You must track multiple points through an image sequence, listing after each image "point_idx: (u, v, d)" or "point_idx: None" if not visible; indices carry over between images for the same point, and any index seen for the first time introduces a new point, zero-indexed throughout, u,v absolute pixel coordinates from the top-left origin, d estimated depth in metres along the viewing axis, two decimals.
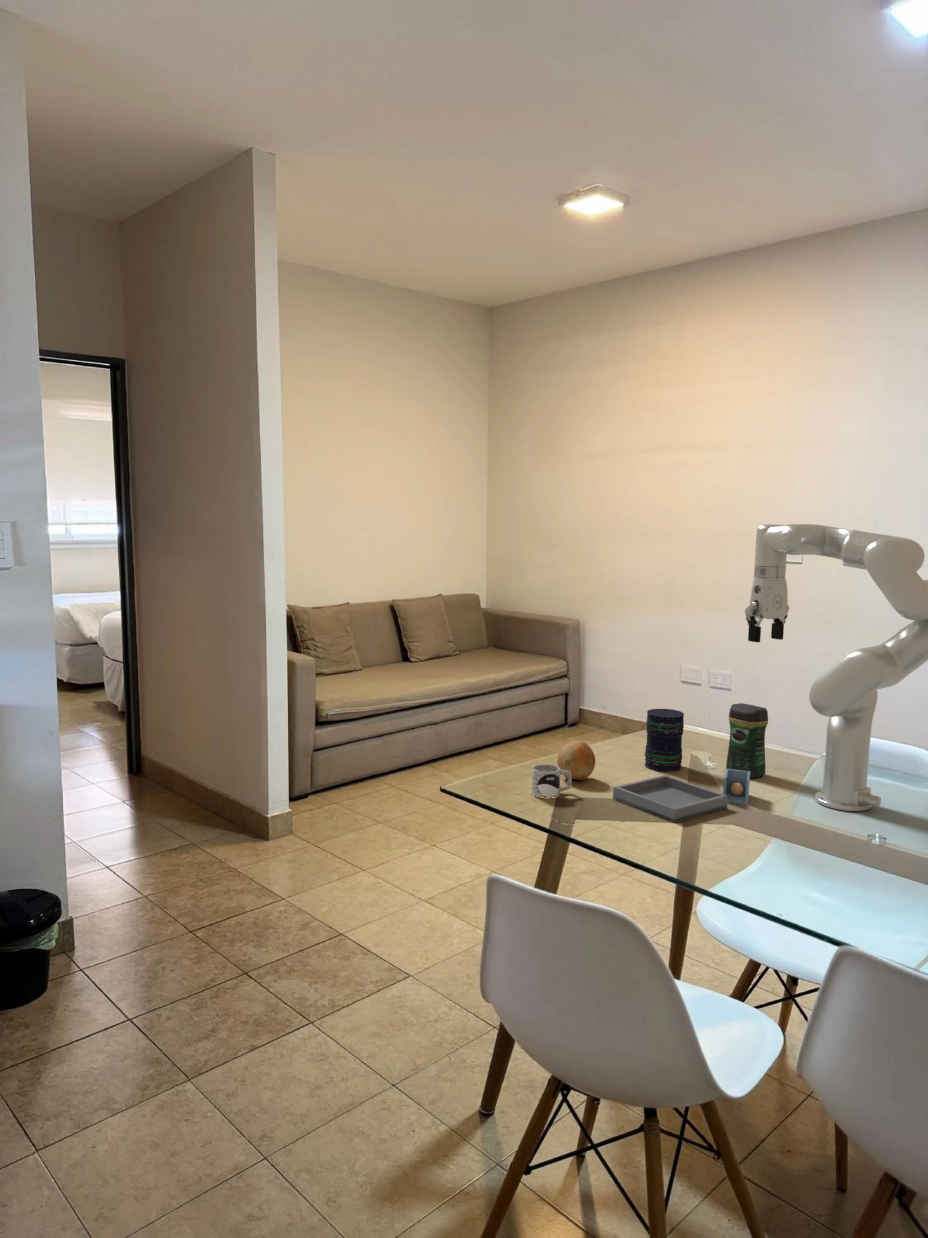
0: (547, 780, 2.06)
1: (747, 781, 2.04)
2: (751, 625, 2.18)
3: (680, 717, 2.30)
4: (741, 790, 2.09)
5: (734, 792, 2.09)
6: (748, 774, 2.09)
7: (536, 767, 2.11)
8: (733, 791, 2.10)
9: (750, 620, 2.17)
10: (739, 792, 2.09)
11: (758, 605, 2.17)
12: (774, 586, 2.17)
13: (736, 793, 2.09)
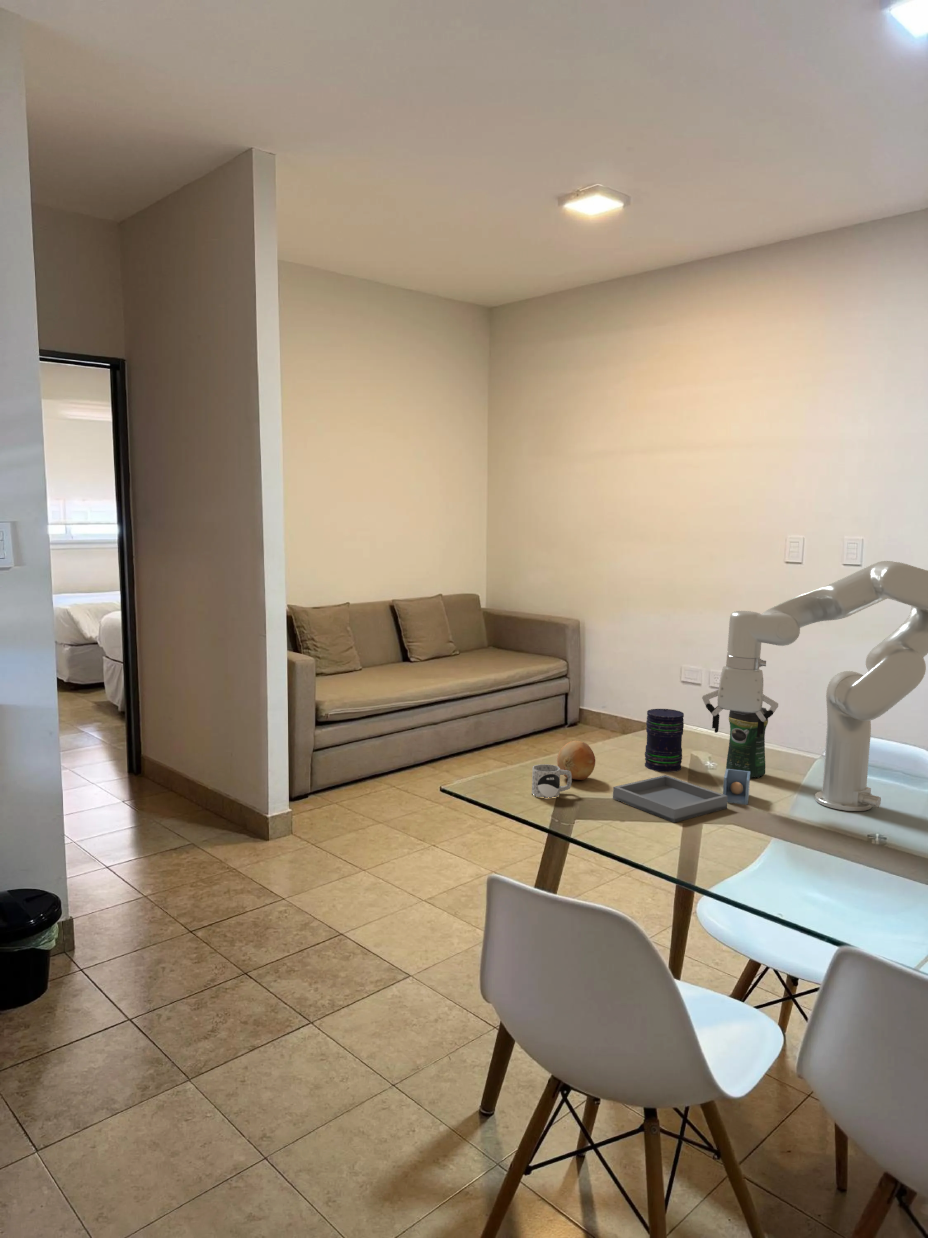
0: (547, 780, 2.06)
1: (747, 781, 2.04)
2: None
3: (680, 717, 2.30)
4: (741, 787, 2.10)
5: (734, 789, 2.10)
6: (748, 774, 2.09)
7: (536, 767, 2.11)
8: (733, 788, 2.10)
9: None
10: (739, 789, 2.10)
11: None
12: None
13: (736, 790, 2.10)
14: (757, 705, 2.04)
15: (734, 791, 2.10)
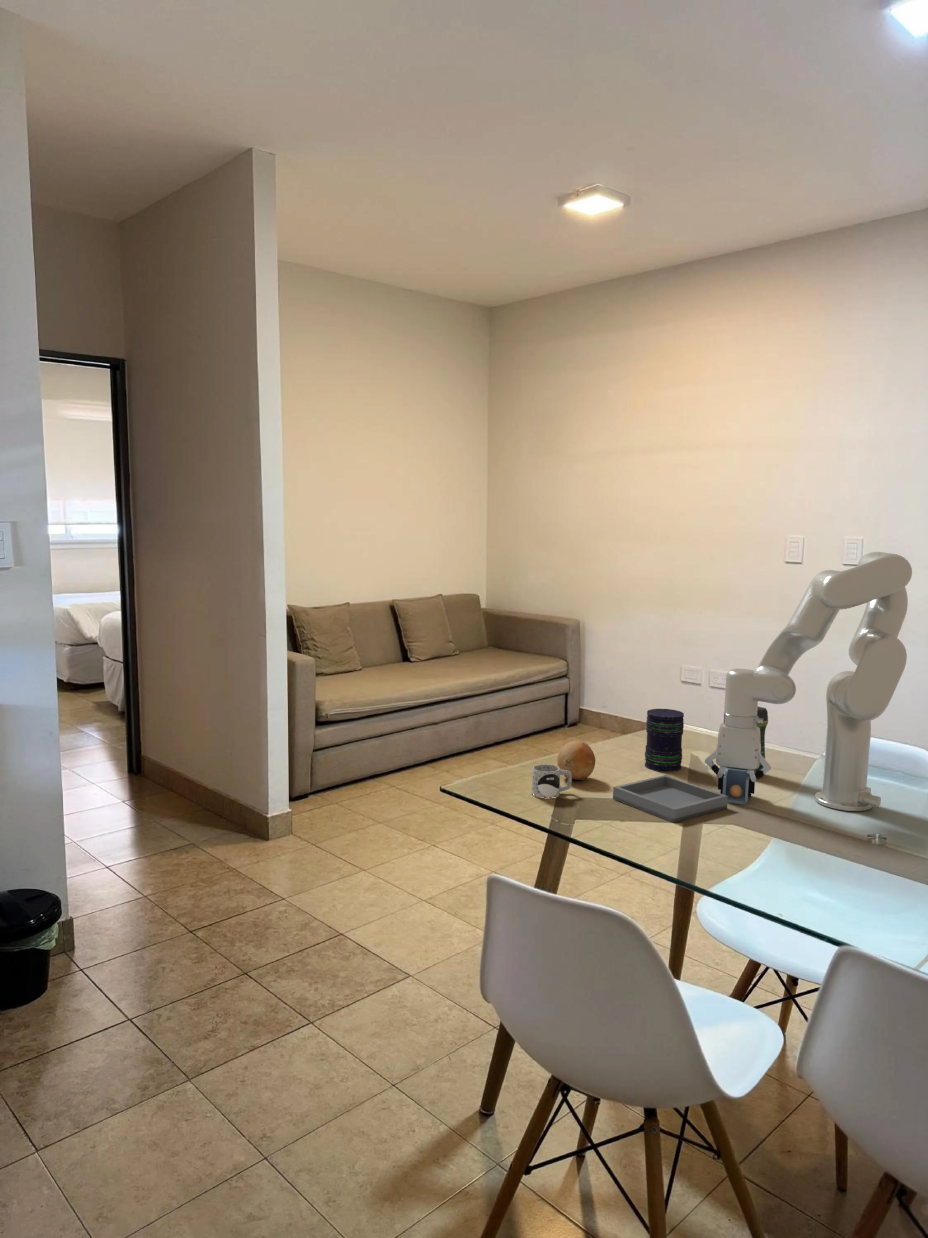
0: (547, 780, 2.06)
1: (747, 780, 2.05)
2: None
3: (680, 717, 2.30)
4: (740, 795, 2.08)
5: None
6: (748, 773, 2.09)
7: (536, 767, 2.11)
8: None
9: None
10: None
11: None
12: None
13: None
14: (755, 763, 2.05)
15: None
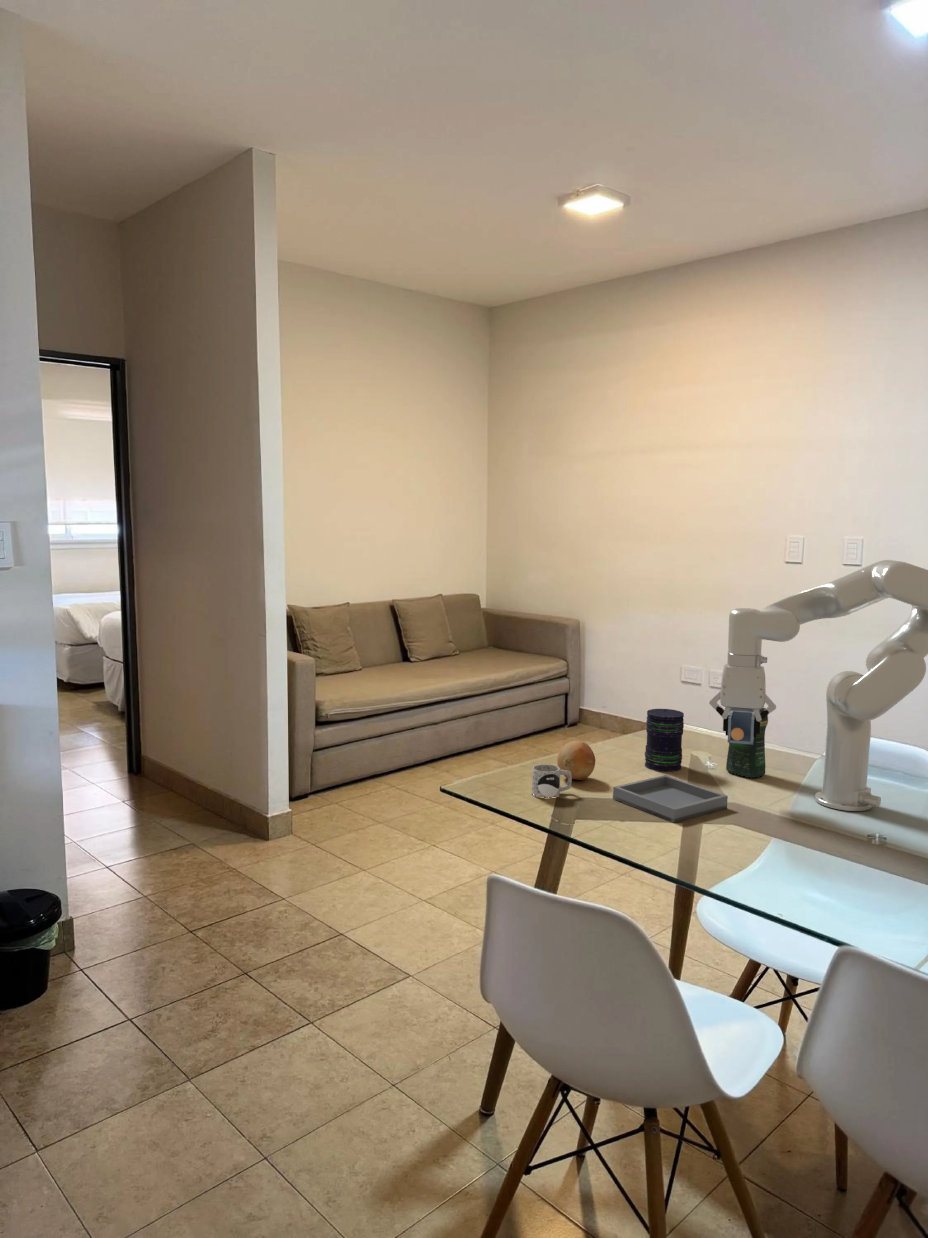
0: (547, 780, 2.06)
1: (752, 719, 2.03)
2: None
3: (680, 717, 2.30)
4: None
5: None
6: (753, 714, 2.08)
7: (536, 767, 2.11)
8: None
9: None
10: None
11: None
12: None
13: None
14: (760, 702, 2.04)
15: None
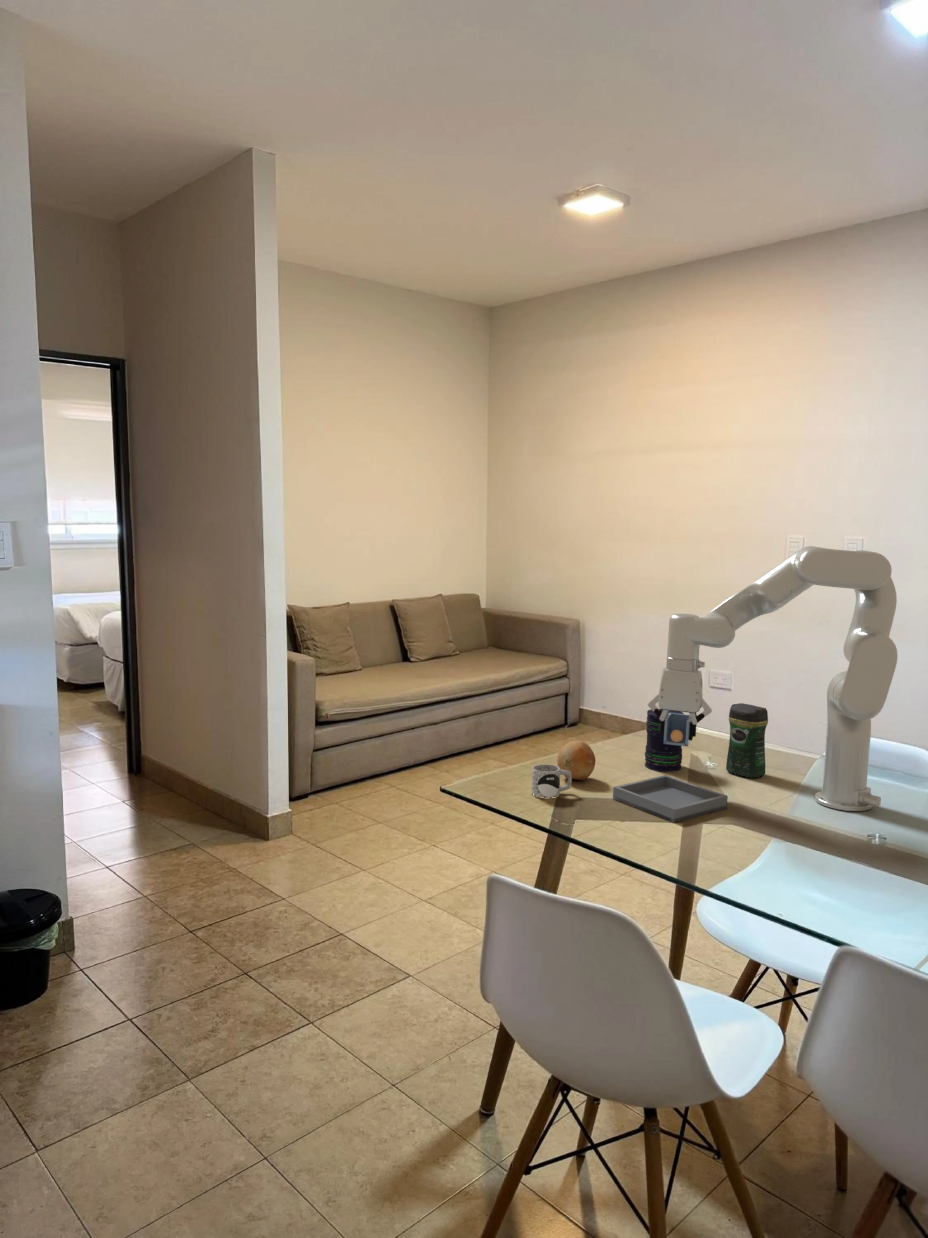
0: (547, 780, 2.06)
1: (687, 722, 2.08)
2: None
3: None
4: None
5: None
6: (690, 717, 2.13)
7: (536, 767, 2.11)
8: None
9: (702, 717, 2.11)
10: None
11: None
12: None
13: None
14: (696, 705, 2.09)
15: None
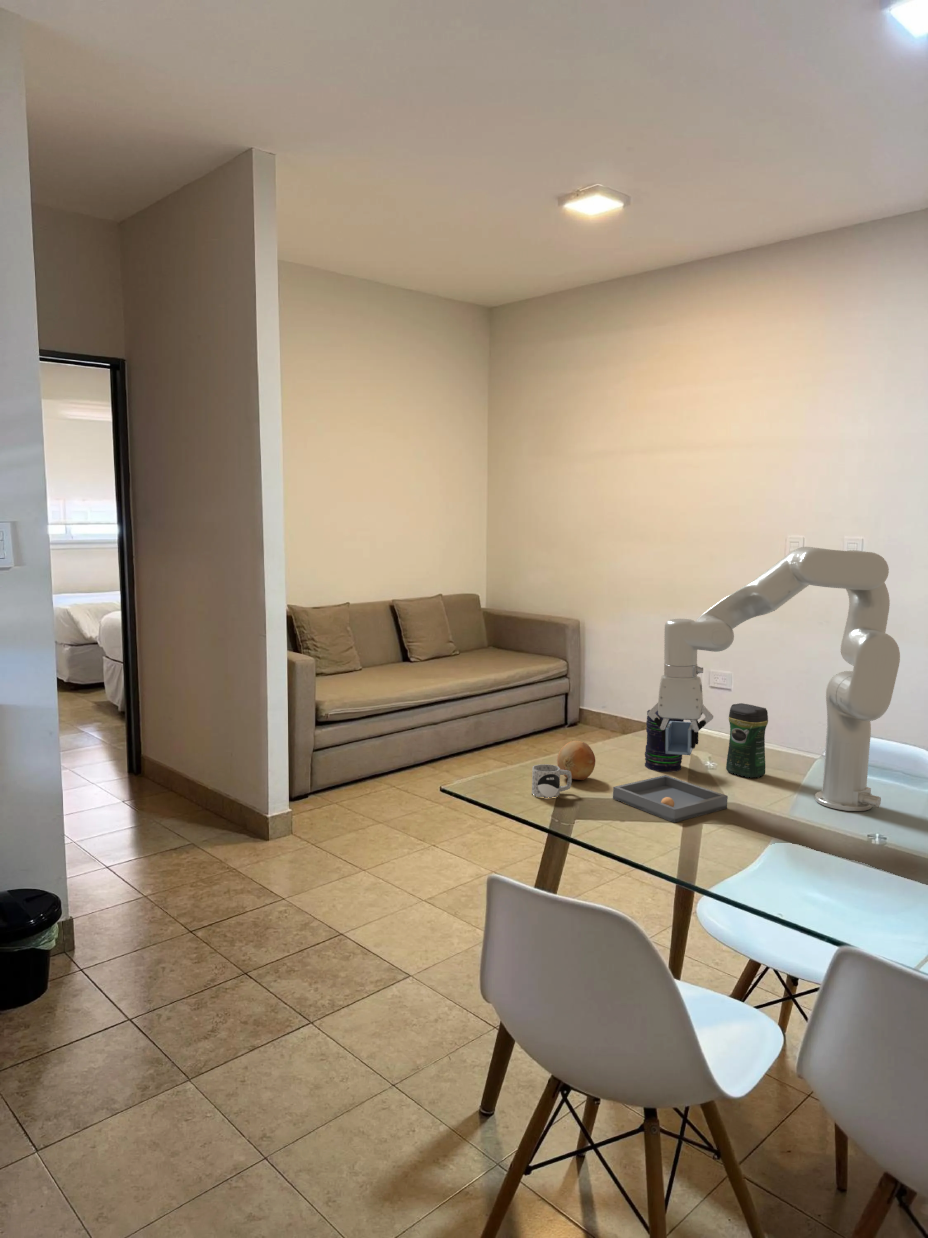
0: (547, 780, 2.06)
1: (688, 730, 2.02)
2: (698, 730, 2.05)
3: None
4: None
5: None
6: (691, 725, 2.07)
7: (536, 767, 2.11)
8: None
9: None
10: None
11: None
12: None
13: None
14: (696, 712, 2.03)
15: None
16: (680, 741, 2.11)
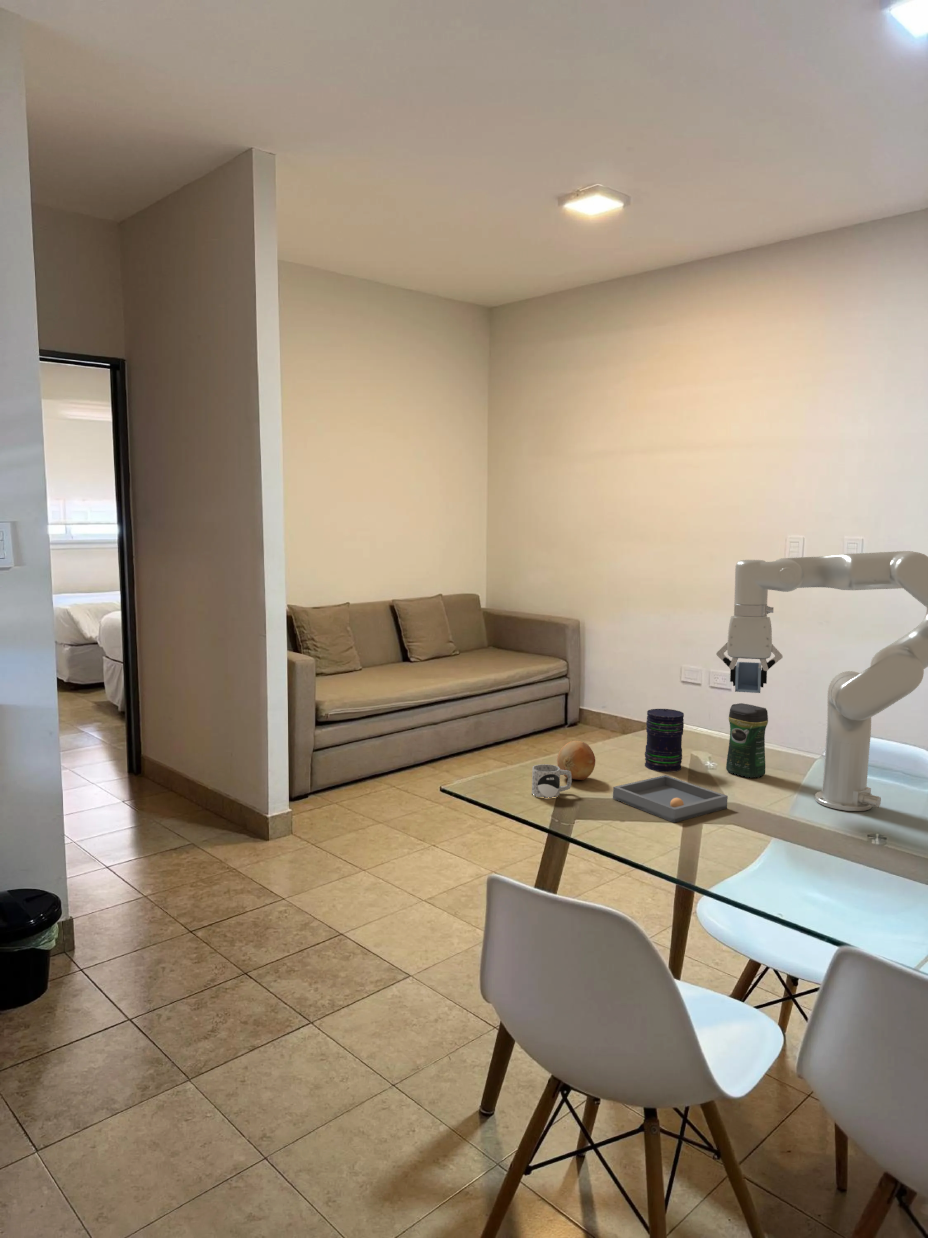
0: (547, 780, 2.06)
1: (759, 668, 2.05)
2: (767, 669, 2.08)
3: (680, 717, 2.30)
4: None
5: (674, 802, 1.96)
6: (759, 664, 2.10)
7: (536, 767, 2.11)
8: (676, 802, 1.96)
9: None
10: (672, 806, 1.96)
11: None
12: None
13: (673, 803, 1.96)
14: (767, 651, 2.06)
15: (673, 800, 1.97)
16: (747, 681, 2.14)
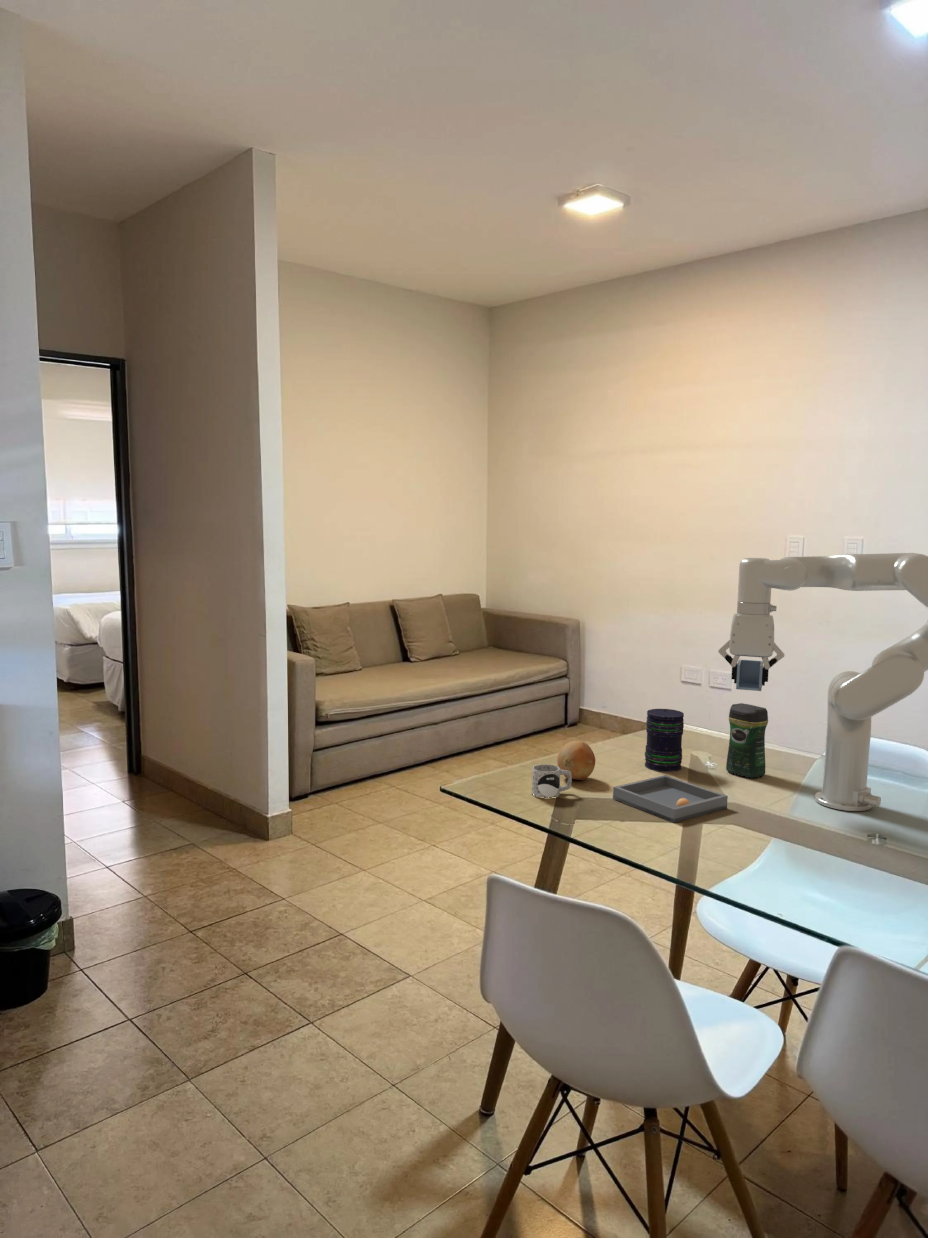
0: (547, 780, 2.06)
1: (760, 666, 2.06)
2: None
3: (680, 717, 2.30)
4: (678, 805, 1.96)
5: (685, 802, 1.96)
6: (761, 662, 2.10)
7: (536, 767, 2.11)
8: (686, 803, 1.96)
9: (775, 662, 2.08)
10: (679, 803, 1.96)
11: None
12: None
13: (682, 801, 1.96)
14: (769, 650, 2.06)
15: (685, 800, 1.96)
16: (749, 679, 2.14)
